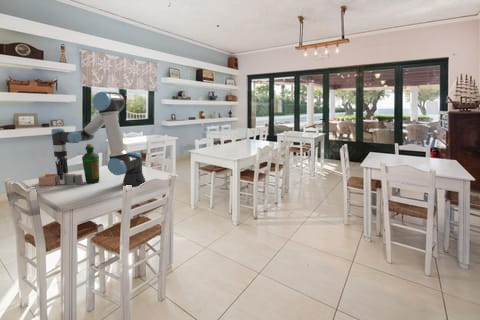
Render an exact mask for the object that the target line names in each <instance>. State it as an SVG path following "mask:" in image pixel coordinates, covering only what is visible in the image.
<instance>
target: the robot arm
mask: <svg viewBox="0 0 480 320" xmlns="http://www.w3.org/2000/svg"><path fill="white" fill-rule="evenodd" d="M125 104H126V100H125V98H124V96H123V95H122V94H121V93H118V92H112V91H99V92H96V93H95V94H94V96H93V97H92V105H93V108H95V109H96V110H97V111H98V114H97V115H96V116H95V117H94V118H93V119H92V120H91V121H90V122H89V123H87V125H86V126H84V127H83V129H82V130H76V131H74V130H73V131H65V129H64V128H63V127H62V128H61V127H60V128H57V127H55V128H52V129H51V138H52V148H53V156H54V157H55V158H57V159H56V160H55V161H54V163H55V166H56V167H55V168H56V174H57V175H59V178H60V184H59V185H66V184H65V181H64V175H63V173H68V174H69V169H68V167H69V165H68V158H67V156H68V151H67V143H69V144H78V143H80V142H87V141H88V142H89V141H91V140H93V139H95V134H96V133H97V132H99V130H100V129H101V128H102V127H105V133H106V137H107V140H108V145H109V150H110V154H109V155H108V156H109V160H108V162H107V164H106V165H107V169H108V171H109V172H110V173H111V174H113V175H115V176H121V175H124V177H123V180H122V185H123V186H125V185H132V186H131V187H138V186H141V185H140V184H142V183H144V182H145V183H146V179H145V178H146V177H145V176H144V173H143V157H142V153H141V152H137V151H136V152H135V151H134V152H133V151H126V149H125V144H124V141H123V135H122V131H121V126H120V122H119V117H118V114H119V113H121V112H122V111H123V109H124V108H125Z"/></svg>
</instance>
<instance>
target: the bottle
mask: <svg viewBox="0 0 480 320" xmlns="http://www.w3.org/2000/svg"><path fill="white" fill-rule="evenodd" d="M85 150H86V153H84V154H83V155H82V157H81V160H82V161H81V162H82V167H83V171H84V173H83V174H84V178H85V179H84V180H85V183H86V184H92V185H93V184H97V183H99V182H100V157H99V155H98V154H97V153H95V152H94V150H95V148H94V145H93V144H92V143H87V144H86V146H85Z"/></svg>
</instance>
